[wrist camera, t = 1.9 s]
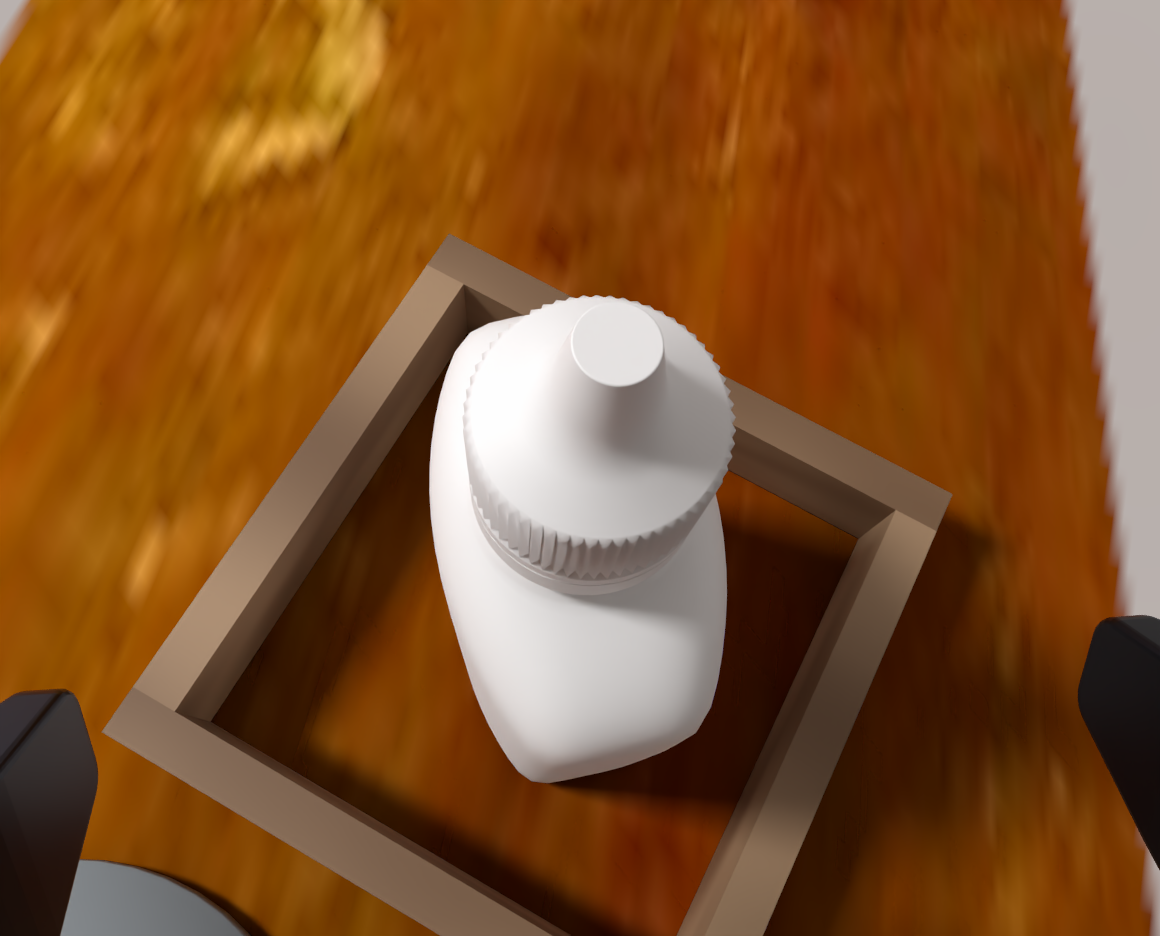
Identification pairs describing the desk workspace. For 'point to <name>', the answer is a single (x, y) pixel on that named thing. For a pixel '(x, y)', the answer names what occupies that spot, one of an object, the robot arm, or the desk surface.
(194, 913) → the rubber coaster
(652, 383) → the eye dropper bottle
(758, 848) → the walnut collar
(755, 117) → the desk surface
